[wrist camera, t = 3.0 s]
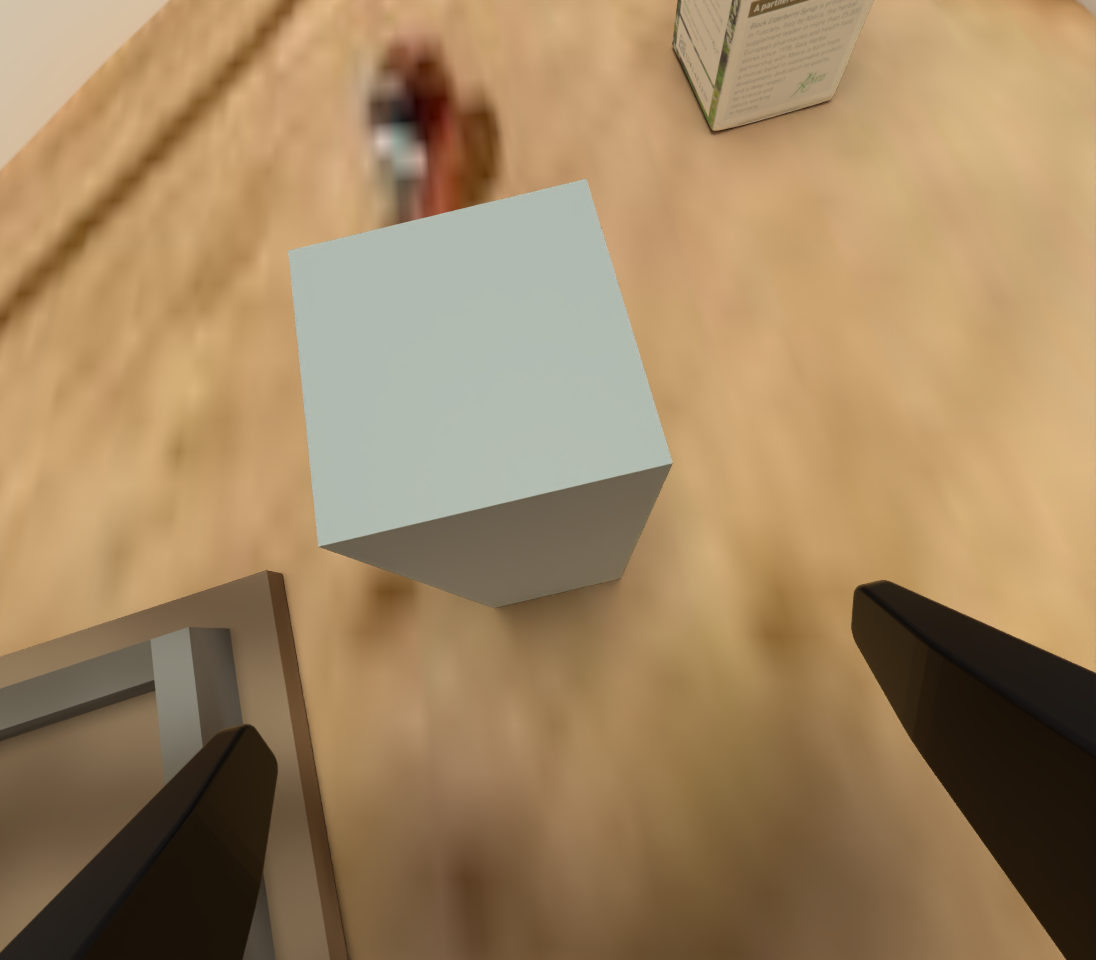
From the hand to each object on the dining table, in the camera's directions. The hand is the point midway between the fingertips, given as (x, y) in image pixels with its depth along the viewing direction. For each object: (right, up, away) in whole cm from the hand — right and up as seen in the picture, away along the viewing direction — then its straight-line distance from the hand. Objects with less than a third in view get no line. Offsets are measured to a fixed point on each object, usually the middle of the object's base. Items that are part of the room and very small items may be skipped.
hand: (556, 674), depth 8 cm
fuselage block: (0, +1, +12) cm, 12 cm away
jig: (-14, -8, +10) cm, 19 cm away
